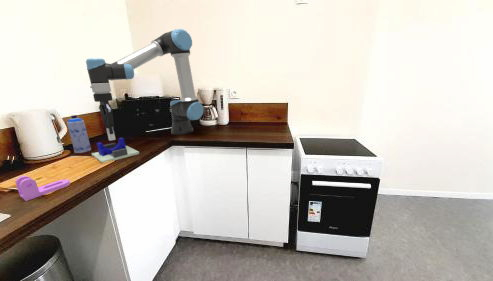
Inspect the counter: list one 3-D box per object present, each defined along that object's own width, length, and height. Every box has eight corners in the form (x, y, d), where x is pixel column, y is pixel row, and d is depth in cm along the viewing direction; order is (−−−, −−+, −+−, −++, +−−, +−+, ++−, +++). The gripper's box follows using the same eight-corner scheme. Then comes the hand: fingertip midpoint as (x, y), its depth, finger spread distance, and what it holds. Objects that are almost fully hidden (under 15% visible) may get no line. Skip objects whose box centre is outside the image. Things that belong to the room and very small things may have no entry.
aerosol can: (93, 147, 127) (84, 113, 122) (88, 151, 120) (79, 115, 114) (77, 149, 125) (67, 115, 119) (72, 153, 117) (61, 117, 112)
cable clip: (103, 155, 108) (100, 144, 106) (99, 154, 111) (96, 143, 109) (127, 149, 117) (125, 138, 115) (123, 148, 120) (121, 137, 118)
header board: (126, 147, 125) (125, 140, 124) (139, 153, 113) (137, 146, 112) (92, 155, 113) (90, 148, 112) (102, 163, 101) (100, 155, 100)
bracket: (26, 201, 71) (19, 182, 69) (20, 197, 74) (13, 178, 72) (72, 184, 82) (67, 167, 80) (66, 181, 84) (61, 164, 82)
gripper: (89, 93, 106) (100, 139, 112) (96, 93, 97) (107, 143, 104) (106, 92, 111) (116, 136, 118) (115, 92, 103) (124, 140, 109)
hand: (112, 139), depth 111 cm, fingers closed
